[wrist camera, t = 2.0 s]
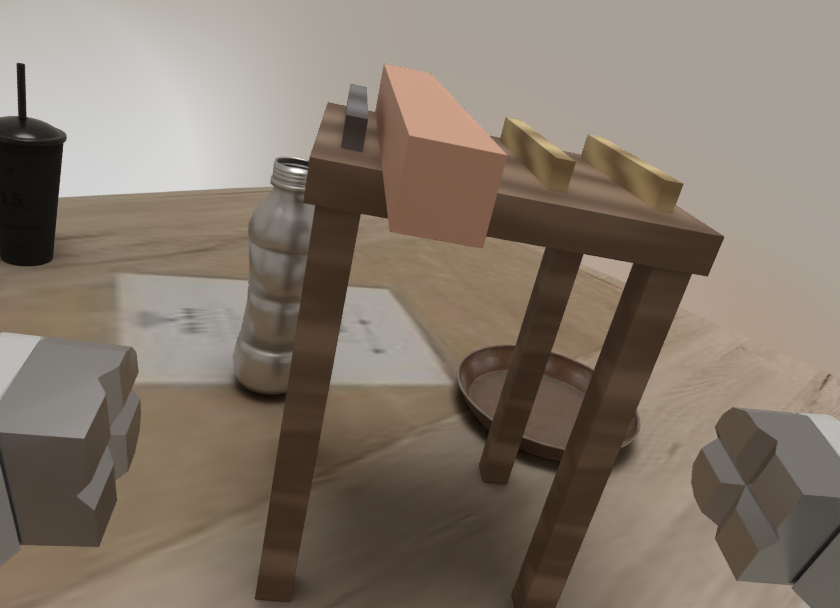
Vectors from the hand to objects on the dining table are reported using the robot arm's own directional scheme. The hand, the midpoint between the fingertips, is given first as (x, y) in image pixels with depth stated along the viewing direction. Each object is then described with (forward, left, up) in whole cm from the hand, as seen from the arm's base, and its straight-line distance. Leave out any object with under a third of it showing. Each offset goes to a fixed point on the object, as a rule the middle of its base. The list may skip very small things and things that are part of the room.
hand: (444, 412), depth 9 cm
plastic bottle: (-40, +17, -28) cm, 52 cm away
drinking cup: (-70, +2, -28) cm, 75 cm away
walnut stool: (-21, +19, -27) cm, 40 cm away
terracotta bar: (-20, +13, -1) cm, 24 cm away
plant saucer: (-28, +40, -28) cm, 57 cm away
